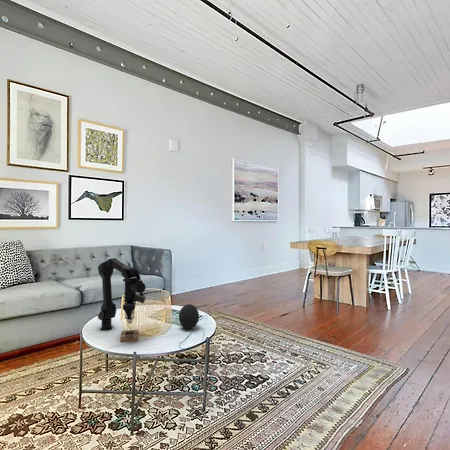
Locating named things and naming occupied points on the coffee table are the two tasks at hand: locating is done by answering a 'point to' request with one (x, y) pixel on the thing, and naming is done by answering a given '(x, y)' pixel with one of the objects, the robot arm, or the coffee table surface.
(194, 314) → the decorative egg
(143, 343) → the coffee table surface
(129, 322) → the peg
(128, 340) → the brown square frame
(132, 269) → the robot arm
